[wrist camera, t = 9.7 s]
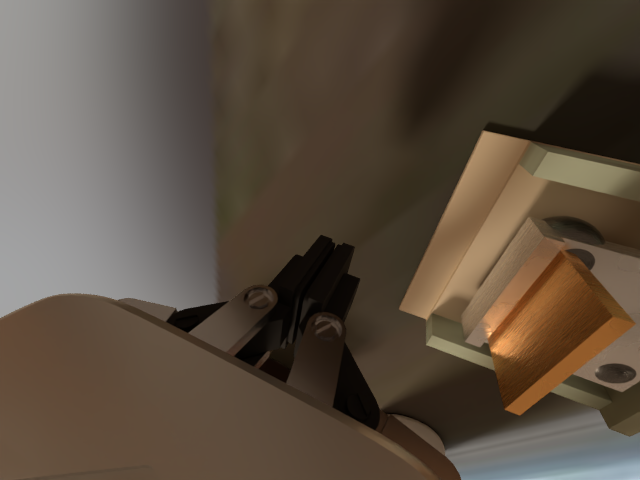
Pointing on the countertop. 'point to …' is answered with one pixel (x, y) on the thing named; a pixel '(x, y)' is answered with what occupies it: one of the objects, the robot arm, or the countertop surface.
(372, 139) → the countertop surface
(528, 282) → the cart
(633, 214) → the dock
